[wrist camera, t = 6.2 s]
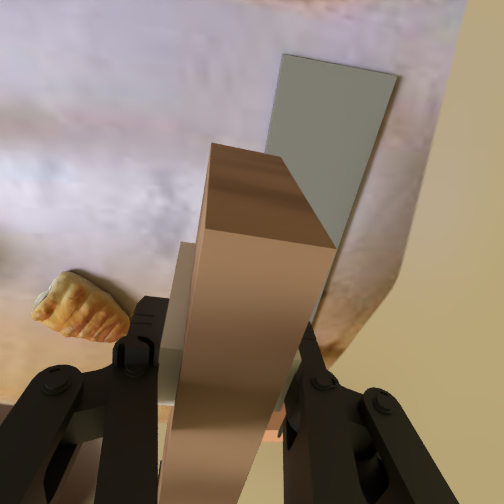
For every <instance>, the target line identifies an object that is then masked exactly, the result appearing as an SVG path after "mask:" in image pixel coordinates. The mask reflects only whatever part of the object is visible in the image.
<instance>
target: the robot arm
mask: <svg viewBox="0 0 504 504" xmlns="http://www.w3.org/2000/svg"><path fill="white" fill-rule="evenodd" d="M195 247H196V244H194V243H187V242H181V244H180V249H179V254H178V259H177V264H176V269H175V274H174V279H173V284H172V289H171V294H170V299H168V298H160V297H151V296H144V297H143V298H142V299H141V300H140V301H139V302H138V303H137V305H136V308H135V311H134V315H133V317H132V321H131V324H130V327H129V330H128V333H127V335H126V336H124V337H121V338H120V339H119V340H118V341H117V342H116V343H115V345H114V348H113V359H112V364H111V365H109V366H107V367H105V368H103V369H99V370H96V371H90V372H85V373H81V372H80V371H79V370H78V369H77V368H76V367H73V366H70V365H56V366H52V367H48V368H46V369H45V370H43V371H41V372H39V373H38V374H37V375H36V376H35V377H34V378H33V379H32V381H31V382H30V383H29V385H28V386H27V388H26V389H25V391H24V392H23V394H22V395H21V396H20V398H19V399H18V401H17V402H16V404H15V405H14V407H13V408H12V410H11V411H10V413H9V414H8V415H7V417H6V418H5V420H4V421H3V423H2V424H1V426H0V504H56V502H57V500H58V498H59V495H60V493H61V491H62V489H63V486H64V484H65V482H66V480H67V477H68V475H69V473H70V471H71V468H72V466H73V464H74V462H75V459H76V457H77V455H78V453H79V450H80V448H81V446H82V444H83V442H87V441H90V440H94V439H97V438H101V437H103V441H102V448H101V455H100V463H99V470H98V478H97V485H96V493H95V500H94V504H158V405H172V406H174V403H175V397H176V391H177V385H178V379H179V373H180V366H181V360H182V354H183V348H184V339H185V331H186V323H187V314H188V306H189V297H190V289H191V280H192V272H193V264H194V255H195ZM283 404H285V409H286V415H285V417H284V420H283V422H282V424H281V426H280V429H279V431H278V436H277V437H278V438H280V437H281V435H282V433H283V471H284V504H459V502H458V501H457V499H456V498H455V496H454V494H453V492H452V491H451V489H450V487H449V486H448V484H447V482H446V481H445V479H444V477H443V476H442V474H441V472H440V471H439V469H438V467H437V466H436V464H435V463H434V461H433V459H432V457H431V456H430V454H429V452H428V451H427V449H426V447H425V445H424V444H423V442H422V440H421V439H420V437H419V435H418V434H417V432H416V430H415V429H414V427H413V425H412V424H411V422H410V420H409V419H408V417H407V415H406V414H405V412H404V410H403V409H402V407H401V405H400V404H399V403H398V401H397V400H396V399H395V397H393V396H392V395H391V394H390V393H388V392H387V391H385V390H382V389H380V388H374V387H373V388H369V389H367V390H366V391H365V393H364V394H361V393H358V392H355V391H353V390H350V389H347V388H345V387H343V386H341V385H340V384H339V382H338V380H337V379H336V377H335V376H334V375H333V374H332V373H331V372H329V371H328V370H327V369H326V367H325V364H324V361H323V358H322V355H321V352H320V349H319V346H318V343H317V341H316V337H315V334H314V331H313V328H312V325H311V322H310V321H309V322H308V325H307V327H306V330H305V332H304V335H303V337H302V340H301V342H300V345H299V347H298V350H297V352H296V355H295V357H294V360H293V363H292V365H291V368H290V370H289V373H288V375H287V378H286V380H285V383H284V385H283V388H282V390H281V393H280V395H279V398H278V400H277V403H276V406H275V408H274V411H273V412H280V411H281V408H282V406H283Z"/></svg>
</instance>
